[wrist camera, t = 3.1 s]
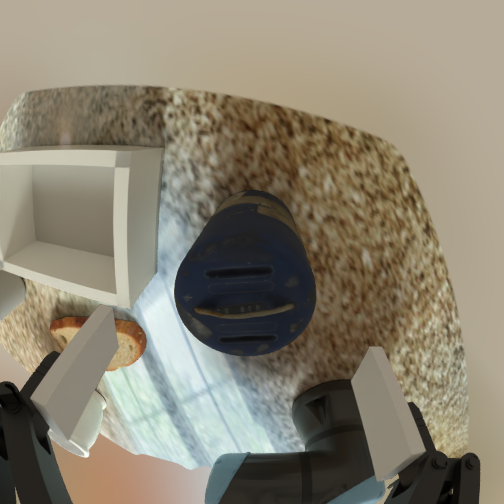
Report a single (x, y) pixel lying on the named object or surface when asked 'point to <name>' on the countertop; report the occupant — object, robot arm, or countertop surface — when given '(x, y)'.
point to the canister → (247, 278)
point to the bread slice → (127, 335)
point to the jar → (84, 428)
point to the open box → (82, 218)
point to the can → (10, 292)
